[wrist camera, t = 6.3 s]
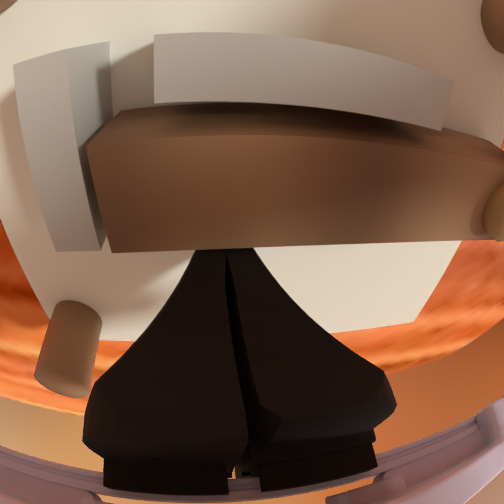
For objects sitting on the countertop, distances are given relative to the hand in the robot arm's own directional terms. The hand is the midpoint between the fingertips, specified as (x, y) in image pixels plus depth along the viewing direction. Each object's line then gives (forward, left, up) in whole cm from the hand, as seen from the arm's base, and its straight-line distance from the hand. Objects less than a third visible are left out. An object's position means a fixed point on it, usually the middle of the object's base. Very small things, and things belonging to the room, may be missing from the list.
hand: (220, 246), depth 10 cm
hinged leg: (-4, -3, -1) cm, 5 cm away
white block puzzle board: (-1, -2, -3) cm, 4 cm away
